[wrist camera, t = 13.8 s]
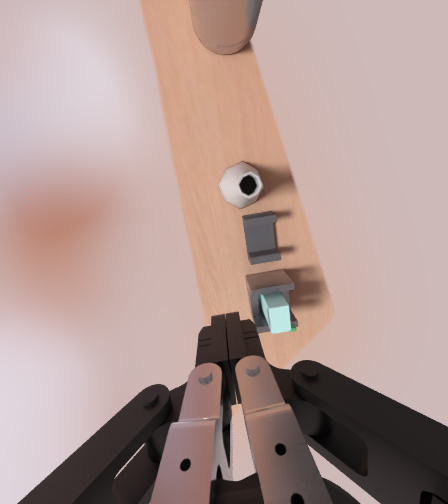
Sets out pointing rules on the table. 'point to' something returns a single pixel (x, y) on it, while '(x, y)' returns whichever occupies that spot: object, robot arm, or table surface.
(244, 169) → the flask
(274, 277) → the port
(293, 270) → the table surface
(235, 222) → the table surface
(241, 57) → the table surface
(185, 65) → the table surface
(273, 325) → the plug
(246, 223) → the grey ridged tray
